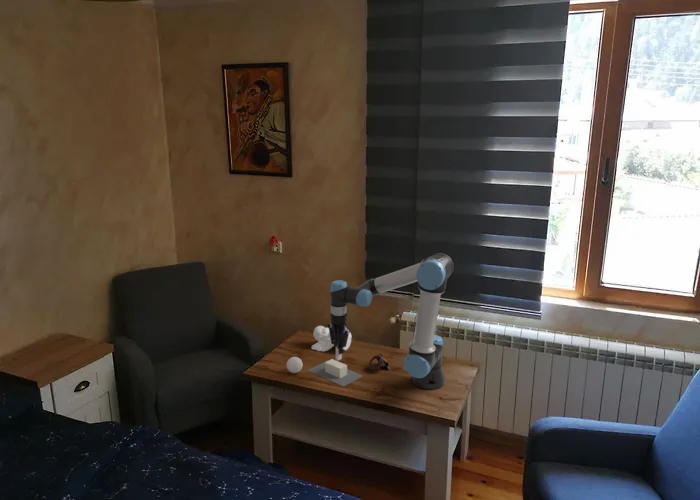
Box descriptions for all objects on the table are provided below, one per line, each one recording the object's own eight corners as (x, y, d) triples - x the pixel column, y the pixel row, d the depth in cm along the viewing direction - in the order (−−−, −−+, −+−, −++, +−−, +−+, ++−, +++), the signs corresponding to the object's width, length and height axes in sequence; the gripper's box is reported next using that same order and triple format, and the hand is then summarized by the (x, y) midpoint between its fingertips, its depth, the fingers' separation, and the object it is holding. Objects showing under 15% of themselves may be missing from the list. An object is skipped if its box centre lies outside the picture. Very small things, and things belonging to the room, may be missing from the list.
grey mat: (363, 376, 261) (363, 375, 261) (343, 387, 251) (343, 386, 251) (327, 361, 277) (327, 360, 277) (307, 370, 267) (307, 370, 266)
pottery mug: (391, 374, 264) (384, 363, 261) (374, 381, 267) (366, 369, 263) (390, 358, 275) (383, 346, 271) (374, 364, 277) (366, 353, 273)
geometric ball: (299, 376, 266) (307, 367, 263) (285, 375, 262) (293, 365, 258) (295, 364, 271) (303, 354, 268) (281, 362, 267) (289, 352, 263)
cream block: (347, 365, 261) (332, 358, 267) (340, 368, 257) (324, 362, 264) (347, 374, 262) (332, 368, 269) (340, 378, 258) (324, 371, 265)
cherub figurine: (343, 338, 279) (308, 328, 286) (341, 359, 283) (307, 349, 290) (352, 328, 291) (319, 319, 298) (350, 348, 295) (317, 339, 302)
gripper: (354, 314, 253) (354, 360, 259) (334, 307, 261) (334, 352, 267) (343, 318, 247) (343, 366, 253) (323, 311, 256) (323, 357, 262)
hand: (338, 359), depth 260 cm, fingers closed
